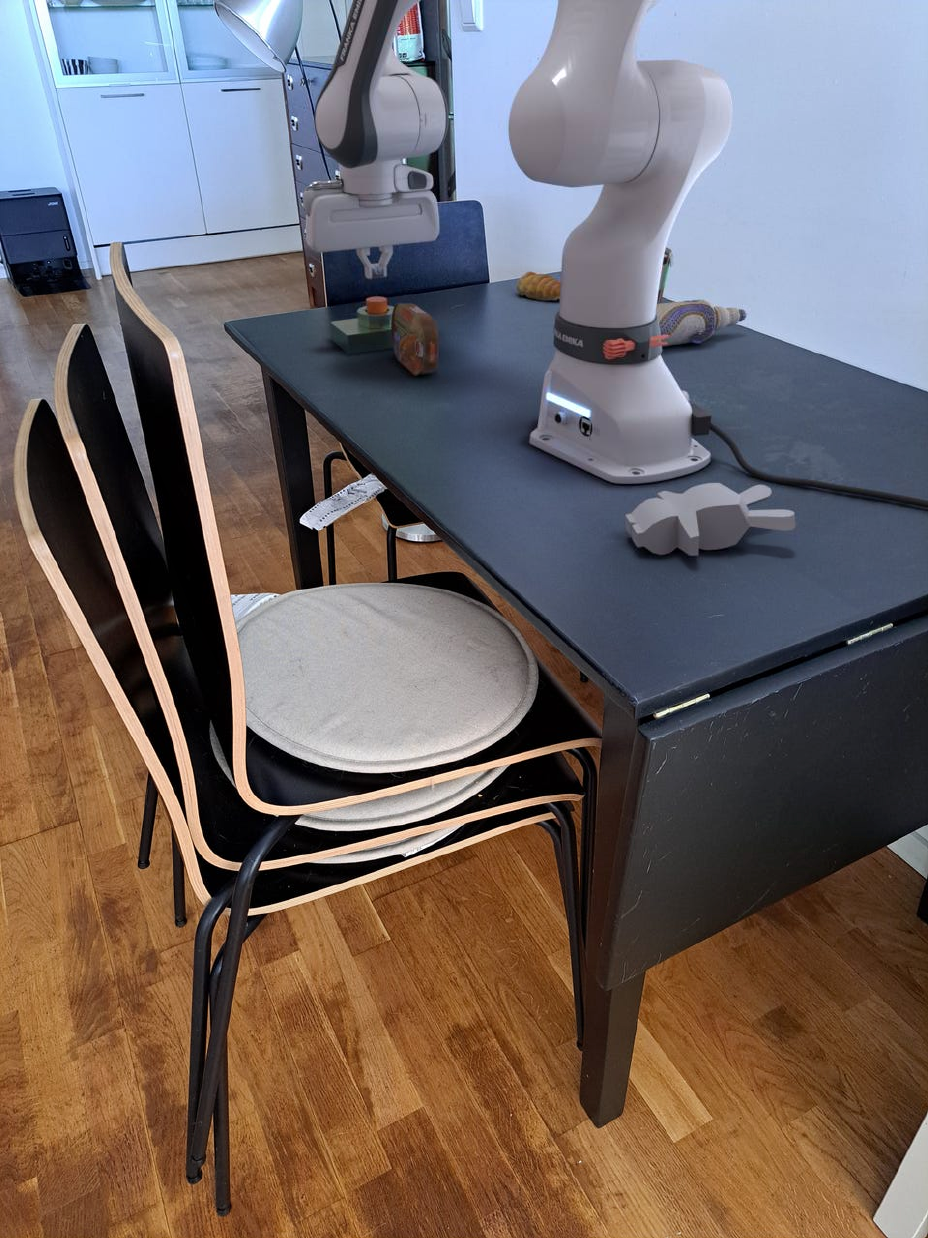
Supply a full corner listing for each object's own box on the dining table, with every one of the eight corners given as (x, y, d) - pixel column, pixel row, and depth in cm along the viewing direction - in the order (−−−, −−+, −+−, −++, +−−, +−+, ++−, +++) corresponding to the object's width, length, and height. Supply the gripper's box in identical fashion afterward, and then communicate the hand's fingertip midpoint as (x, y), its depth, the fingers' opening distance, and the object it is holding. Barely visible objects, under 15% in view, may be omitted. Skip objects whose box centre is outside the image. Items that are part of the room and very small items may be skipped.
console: (426, 343, 141) (425, 310, 138) (348, 354, 136) (346, 321, 133) (406, 330, 146) (405, 298, 144) (331, 340, 142) (329, 308, 139)
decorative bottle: (618, 361, 132) (622, 316, 129) (593, 347, 138) (596, 304, 135) (758, 340, 141) (766, 297, 137) (729, 328, 147) (735, 286, 143)
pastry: (574, 297, 163) (576, 276, 161) (550, 305, 159) (551, 282, 157) (536, 288, 169) (537, 267, 166) (512, 295, 165) (512, 274, 163)
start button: (390, 313, 138) (389, 300, 137) (371, 316, 137) (370, 302, 136) (382, 308, 140) (382, 295, 139) (363, 311, 139) (363, 297, 138)
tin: (390, 353, 136) (387, 296, 132) (409, 350, 137) (407, 294, 133) (421, 383, 125) (420, 323, 120) (442, 381, 126) (441, 320, 121)
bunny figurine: (616, 487, 88) (762, 461, 88) (617, 532, 90) (759, 506, 91) (646, 532, 80) (806, 503, 81) (646, 580, 83) (801, 551, 84)
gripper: (307, 185, 121) (317, 289, 129) (443, 175, 129) (444, 274, 137) (294, 178, 126) (304, 279, 134) (425, 169, 133) (427, 265, 141)
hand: (376, 277), depth 135 cm, fingers closed
